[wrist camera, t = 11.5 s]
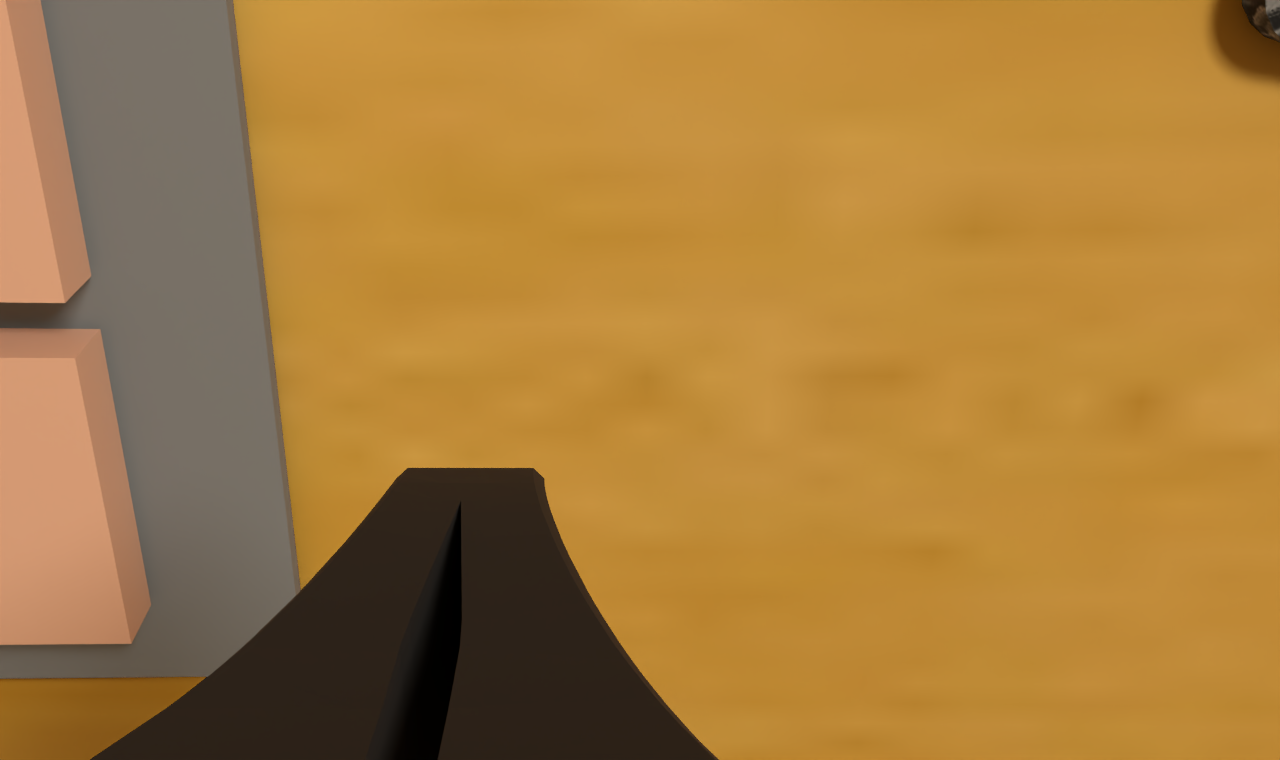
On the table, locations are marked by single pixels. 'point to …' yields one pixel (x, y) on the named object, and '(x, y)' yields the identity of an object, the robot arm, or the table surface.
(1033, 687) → the table surface
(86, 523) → the tile
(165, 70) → the mat
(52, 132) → the tile
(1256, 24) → the phone
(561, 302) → the table surface
